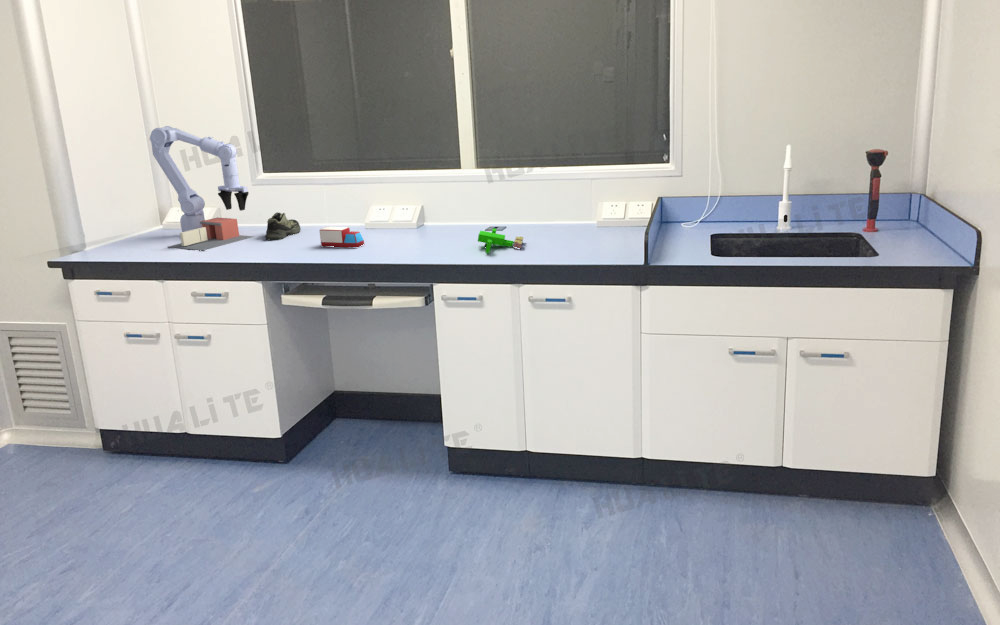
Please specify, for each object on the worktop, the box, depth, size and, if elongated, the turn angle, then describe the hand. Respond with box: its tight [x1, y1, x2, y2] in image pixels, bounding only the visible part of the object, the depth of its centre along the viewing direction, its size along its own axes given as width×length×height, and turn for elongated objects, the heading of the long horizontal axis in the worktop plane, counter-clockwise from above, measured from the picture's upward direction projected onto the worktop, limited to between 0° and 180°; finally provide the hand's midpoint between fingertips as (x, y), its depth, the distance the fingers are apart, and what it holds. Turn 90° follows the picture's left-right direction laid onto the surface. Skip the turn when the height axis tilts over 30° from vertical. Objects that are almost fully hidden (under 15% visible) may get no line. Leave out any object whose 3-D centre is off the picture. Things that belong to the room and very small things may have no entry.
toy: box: [477, 228, 524, 254], centre depth 281 cm, size 22×5×15 cm
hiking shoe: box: [265, 212, 302, 241], centre depth 321 cm, size 8×21×9 cm, turn 169°
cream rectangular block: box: [179, 227, 208, 246], centre depth 311 cm, size 2×11×5 cm, turn 150°
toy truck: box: [319, 226, 365, 248], centre depth 296 cm, size 6×15×7 cm, turn 69°
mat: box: [167, 234, 255, 252], centre depth 315 cm, size 20×25×1 cm
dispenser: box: [200, 216, 240, 240], centre depth 321 cm, size 11×9×7 cm
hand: (235, 209), depth 325 cm, fingers open, 7 cm apart
